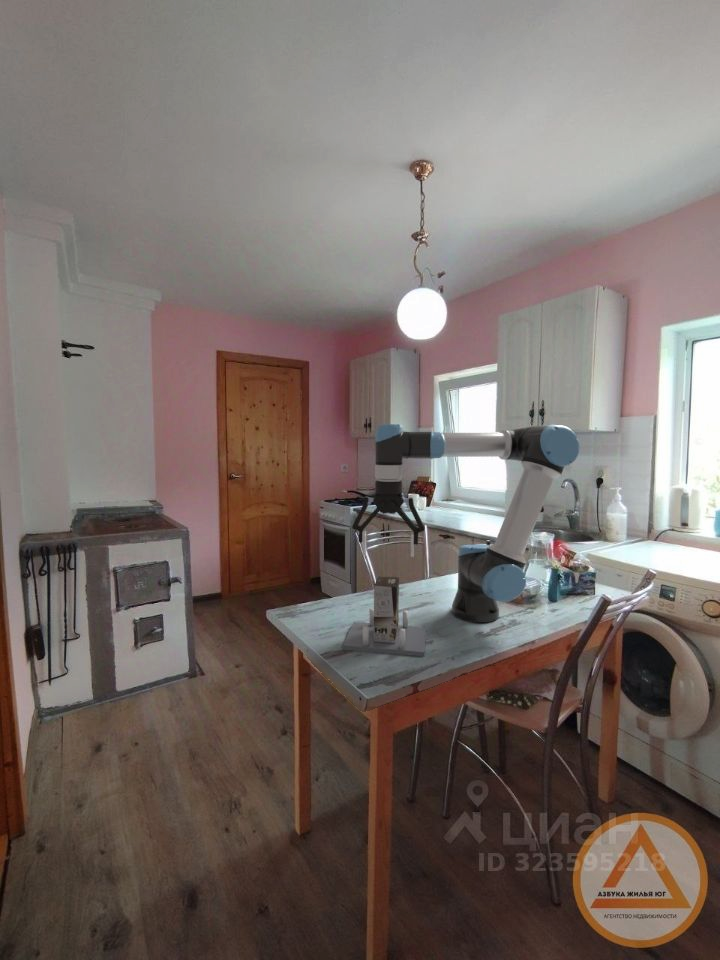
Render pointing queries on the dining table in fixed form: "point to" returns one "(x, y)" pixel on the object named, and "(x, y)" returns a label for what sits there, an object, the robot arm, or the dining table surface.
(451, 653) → the dining table surface
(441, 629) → the dining table surface
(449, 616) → the dining table surface
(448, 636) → the dining table surface
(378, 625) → the coffee box
